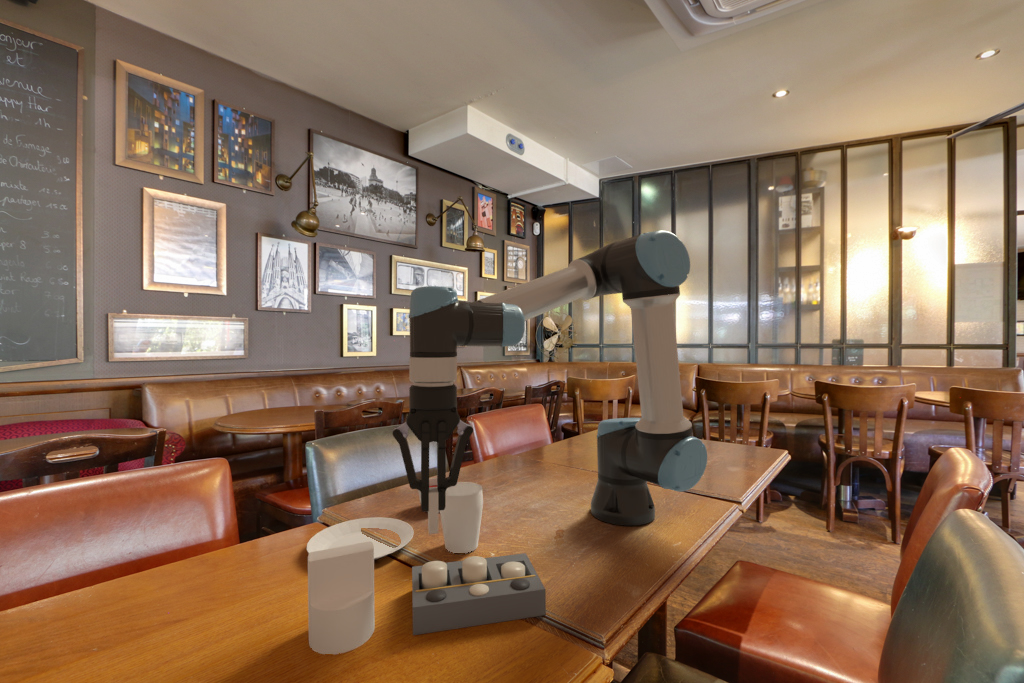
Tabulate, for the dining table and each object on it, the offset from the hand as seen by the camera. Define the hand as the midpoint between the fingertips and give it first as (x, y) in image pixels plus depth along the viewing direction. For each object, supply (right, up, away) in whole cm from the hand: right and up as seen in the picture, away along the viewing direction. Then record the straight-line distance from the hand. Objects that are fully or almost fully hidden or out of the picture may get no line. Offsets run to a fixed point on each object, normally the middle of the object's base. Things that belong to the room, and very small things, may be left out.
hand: (433, 530), depth 72 cm
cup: (+2, -12, +20) cm, 24 cm away
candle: (-7, -12, +42) cm, 44 cm away
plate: (-18, -13, +21) cm, 30 cm away
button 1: (+13, -11, +3) cm, 17 cm away
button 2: (+7, -10, +2) cm, 12 cm away
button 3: (0, -10, 0) cm, 10 cm away
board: (+7, -12, +1) cm, 14 cm away
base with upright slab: (-12, -12, -7) cm, 19 cm away
